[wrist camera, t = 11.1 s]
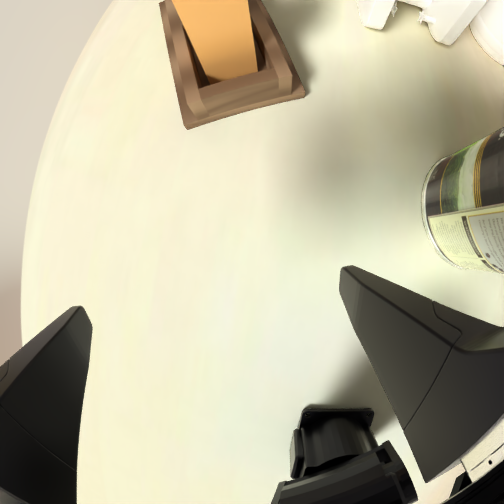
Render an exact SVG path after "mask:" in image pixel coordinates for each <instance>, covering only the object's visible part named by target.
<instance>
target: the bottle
mask: <svg viewBox="0 0 504 504" xmlns="http://www.w3.org/2000/svg"><path fill="white" fill-rule="evenodd" d="M470 29H471V32H472V34H473V36H474V38H475V39H476V41H477V42H478V44H479V45H480V46H481V47H482V49H483V50H484V51H485V52H486V53H487V54H488V55H489V56H490V57H491V58H492V59H494V60H495V61H497V62H498V63H499V64H501V65H504V0H488V1H487V2H486V3H485V5H484V6H483V7H482V8H481V10H480V11H479V12H478V13H477V15H476V16H475V17H474V18H473V19H472V21H471V22H470Z"/></svg>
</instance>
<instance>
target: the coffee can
mask: <svg viewBox="0 0 504 504" xmlns="http://www.w3.org/2000/svg"><path fill="white" fill-rule="evenodd" d="M421 209H422V218H423V223H424V227H425V230H426V233H427V236H428V238H429V240H430V242H431V244H432V246H433V247H434V249H435V250H436V252H437V253H438V254H439V255H440V257H441V258H442V259H443V260H445V261H446V262H447V263H449V264H451V265H452V266H454V267H457V268H460V269H474V270H482V271H489V272H496V273H502V274H504V127H503V128H501V129H499V130H498V131H496V132H494V133H492V134H490V135H488V136H486V137H485V138H483V139H481V140H479V141H477V142H475V143H473V144H471V145H470V146H468V147H466V148H464V149H462V150H460V151H458V152H456V153H454V154H452V155H450V156H447V157H445V158H442V159H441V160H439V161H438V162H437V163H436V164H435V165H434V166H433V167H432V168H431V170H430V171H429V173H428V175H427V177H426V180H425V182H424V186H423V191H422V199H421Z"/></svg>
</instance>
